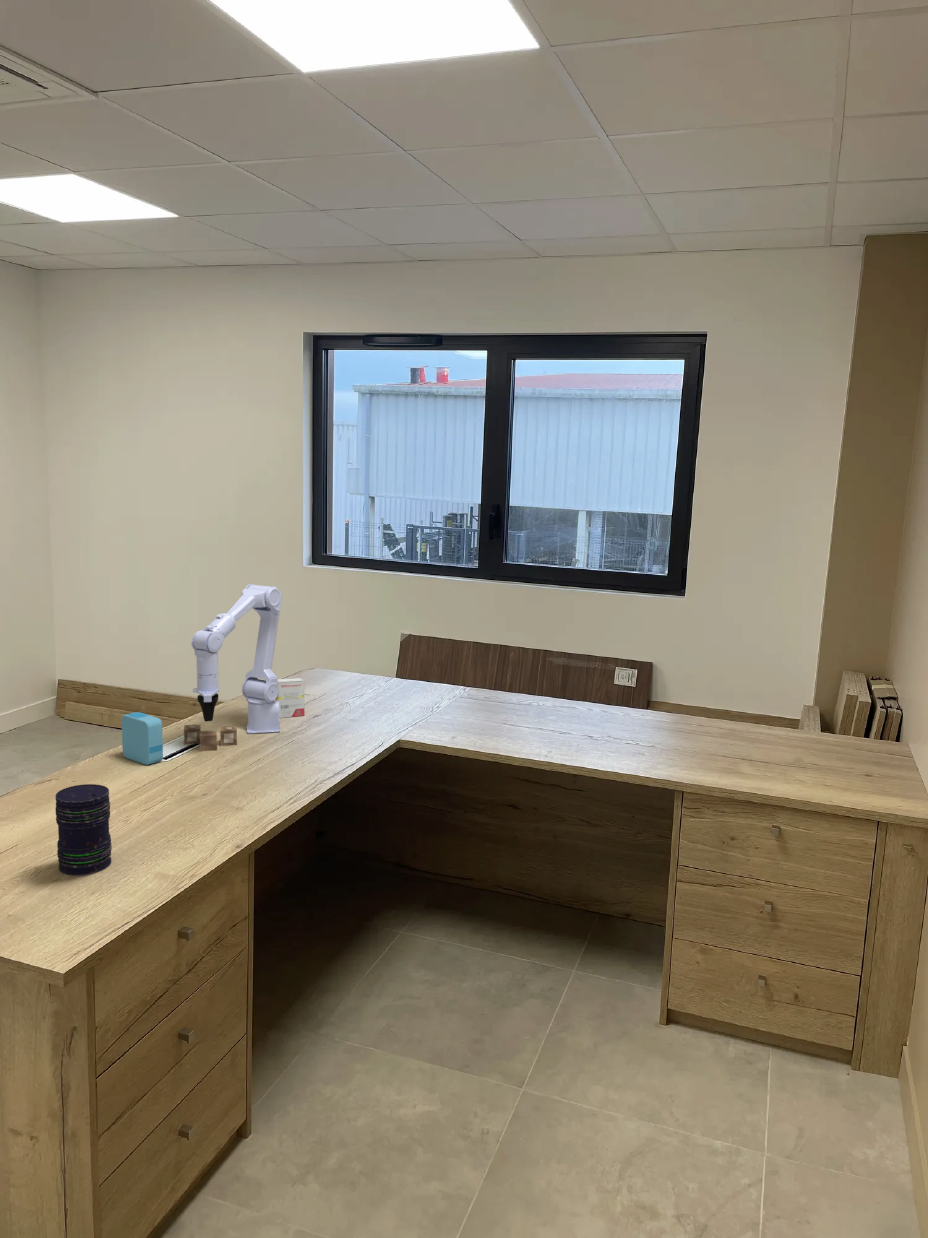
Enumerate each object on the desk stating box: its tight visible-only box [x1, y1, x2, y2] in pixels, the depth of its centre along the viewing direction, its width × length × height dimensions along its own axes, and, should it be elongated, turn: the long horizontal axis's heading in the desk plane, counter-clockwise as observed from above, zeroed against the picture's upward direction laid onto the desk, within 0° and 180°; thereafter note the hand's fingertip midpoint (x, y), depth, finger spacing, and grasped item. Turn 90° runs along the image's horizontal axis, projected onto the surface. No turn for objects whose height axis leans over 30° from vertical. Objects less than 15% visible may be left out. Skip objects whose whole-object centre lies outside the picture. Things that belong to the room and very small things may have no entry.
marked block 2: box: [219, 725, 238, 747], centre depth 255 cm, size 4×5×5 cm
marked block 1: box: [183, 724, 202, 745], centre depth 255 cm, size 4×5×5 cm
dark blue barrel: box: [54, 783, 113, 877], centre depth 174 cm, size 10×10×15 cm
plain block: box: [199, 730, 218, 752], centre depth 250 cm, size 4×4×4 cm
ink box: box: [274, 677, 305, 719], centre depth 285 cm, size 9×5×12 cm, turn 114°
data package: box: [121, 711, 164, 766], centre depth 238 cm, size 12×4×12 cm, turn 54°
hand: (208, 720), depth 249 cm, fingers closed
